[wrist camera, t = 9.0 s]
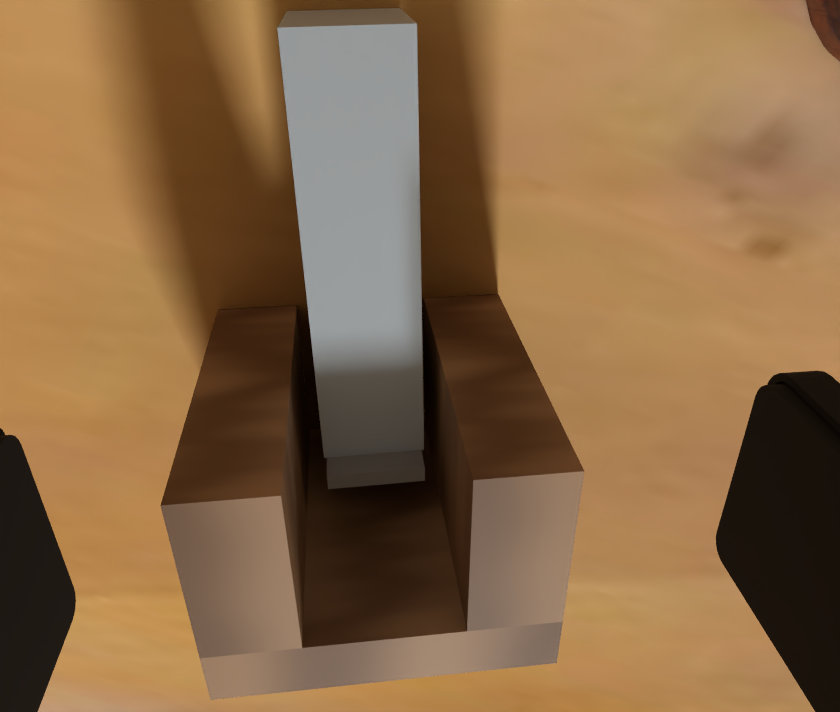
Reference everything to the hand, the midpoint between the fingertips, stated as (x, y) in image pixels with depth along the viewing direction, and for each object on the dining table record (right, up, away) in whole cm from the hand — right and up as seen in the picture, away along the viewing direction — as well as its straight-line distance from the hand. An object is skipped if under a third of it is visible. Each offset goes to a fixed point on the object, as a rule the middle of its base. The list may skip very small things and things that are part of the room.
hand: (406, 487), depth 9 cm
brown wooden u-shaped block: (-2, 0, +21) cm, 21 cm away
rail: (-2, +7, +17) cm, 18 cm away
